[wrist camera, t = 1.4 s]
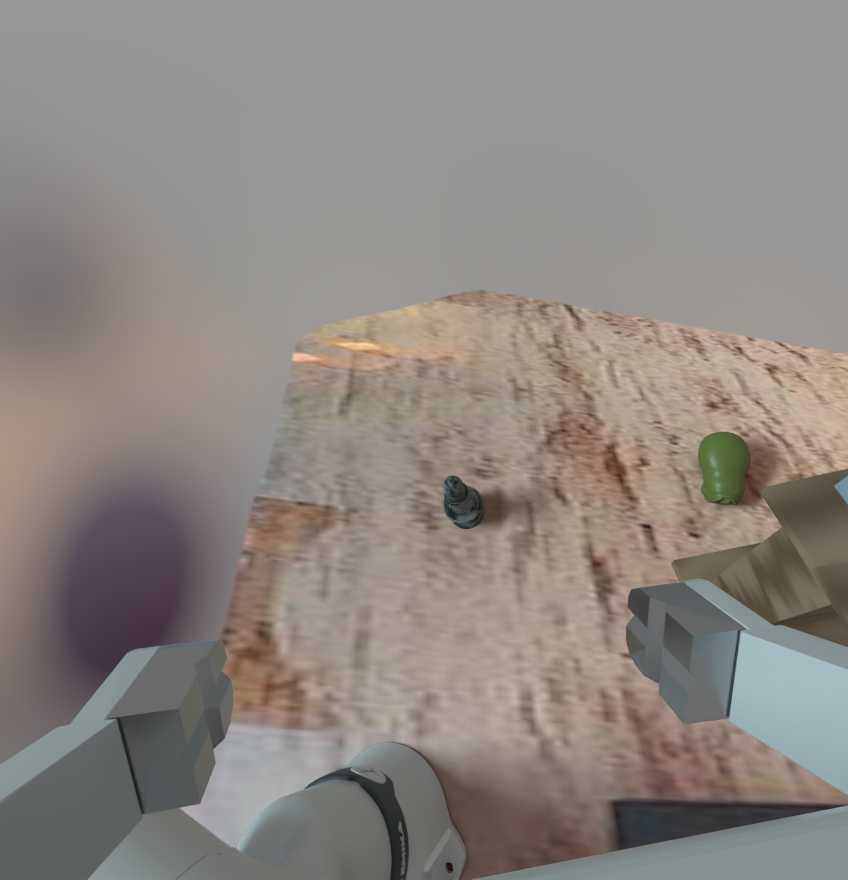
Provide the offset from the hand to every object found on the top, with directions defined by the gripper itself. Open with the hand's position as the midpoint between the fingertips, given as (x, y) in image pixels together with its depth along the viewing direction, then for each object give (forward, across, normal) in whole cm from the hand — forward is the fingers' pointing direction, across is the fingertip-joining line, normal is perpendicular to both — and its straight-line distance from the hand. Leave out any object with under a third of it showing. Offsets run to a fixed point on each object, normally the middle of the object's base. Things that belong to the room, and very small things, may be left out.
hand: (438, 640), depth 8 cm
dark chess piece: (+52, +12, -20) cm, 57 cm away
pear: (+42, +45, -14) cm, 63 cm away
